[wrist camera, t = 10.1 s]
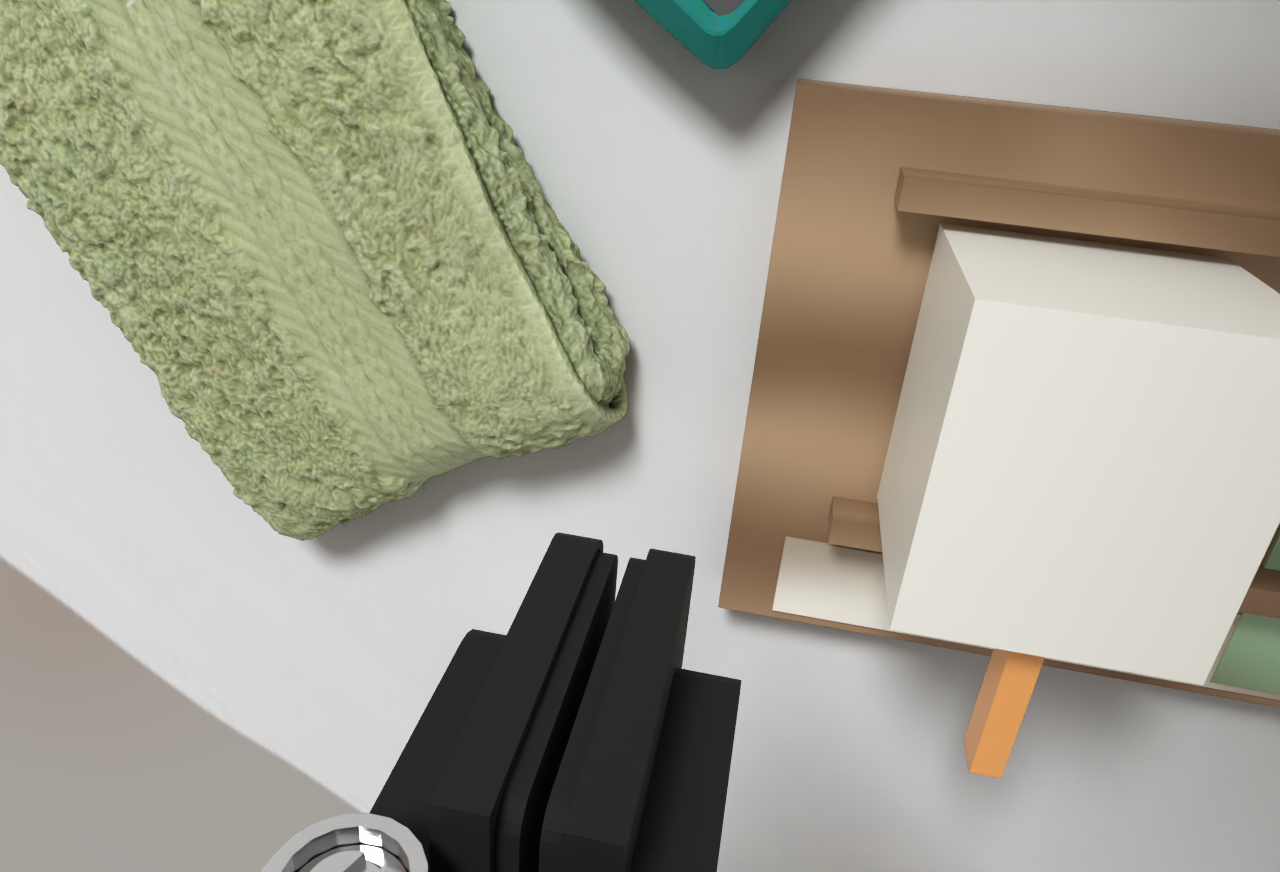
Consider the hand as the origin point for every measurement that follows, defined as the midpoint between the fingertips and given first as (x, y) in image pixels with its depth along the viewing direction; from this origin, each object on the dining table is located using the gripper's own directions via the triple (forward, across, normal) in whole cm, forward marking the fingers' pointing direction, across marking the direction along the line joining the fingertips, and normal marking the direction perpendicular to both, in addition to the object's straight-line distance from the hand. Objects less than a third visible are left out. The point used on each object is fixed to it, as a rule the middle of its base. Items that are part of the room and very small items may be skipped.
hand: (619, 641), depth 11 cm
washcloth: (+15, +12, -1) cm, 19 cm away
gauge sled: (+12, -11, +3) cm, 17 cm away
